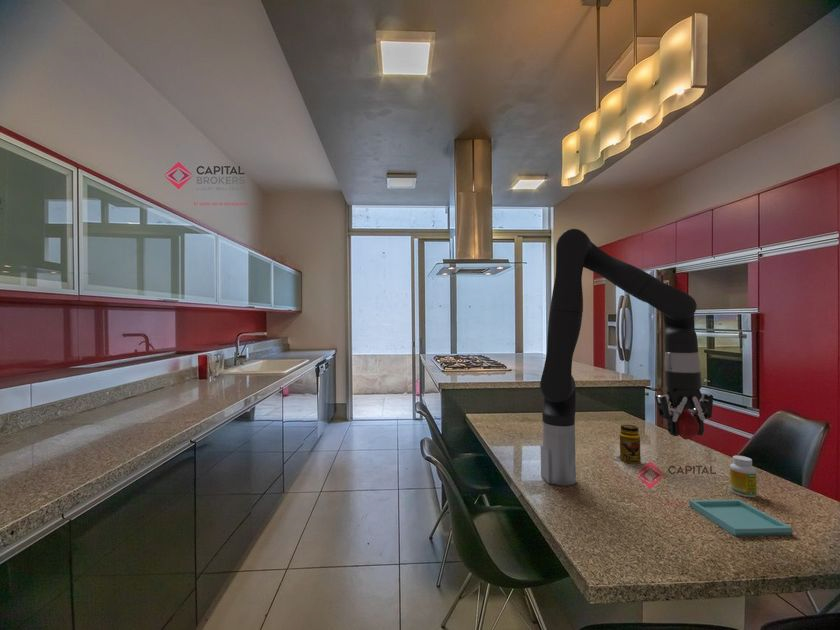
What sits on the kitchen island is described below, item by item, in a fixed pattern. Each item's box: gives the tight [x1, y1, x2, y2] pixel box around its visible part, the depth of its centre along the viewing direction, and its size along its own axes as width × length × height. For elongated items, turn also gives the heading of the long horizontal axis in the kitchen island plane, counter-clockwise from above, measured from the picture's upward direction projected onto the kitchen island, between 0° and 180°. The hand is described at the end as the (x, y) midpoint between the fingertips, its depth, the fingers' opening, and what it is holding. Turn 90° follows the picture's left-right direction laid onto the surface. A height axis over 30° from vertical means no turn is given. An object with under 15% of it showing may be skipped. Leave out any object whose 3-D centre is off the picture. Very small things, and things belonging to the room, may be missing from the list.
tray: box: [688, 498, 793, 537], centre depth 86 cm, size 13×13×2 cm
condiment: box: [610, 424, 648, 467], centre depth 124 cm, size 7×8×12 cm
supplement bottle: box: [729, 455, 758, 498], centre depth 100 cm, size 5×5×10 cm
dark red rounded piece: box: [676, 409, 699, 441], centre depth 93 cm, size 6×6×8 cm
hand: (686, 434), depth 93 cm, fingers closed on dark red rounded piece, 6 cm apart
